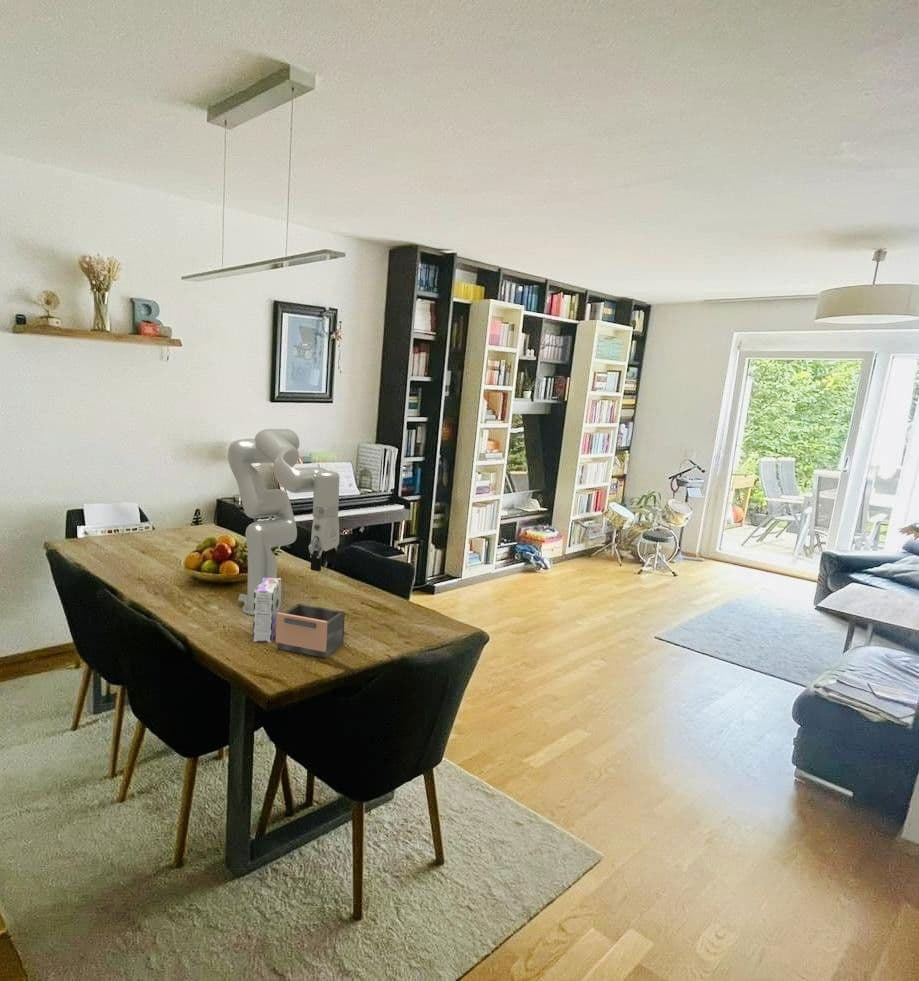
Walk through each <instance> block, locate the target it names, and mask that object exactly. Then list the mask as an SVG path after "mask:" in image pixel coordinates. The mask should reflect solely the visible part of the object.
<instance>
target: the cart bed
mask: <svg viewBox="0 0 919 981" xmlns="http://www.w3.org/2000/svg"><path fill="white" fill-rule="evenodd" d="M282 613H286V614H292V615H297V616H302V617H308V618H313V619H319V620H324V621H328V623H327V646H326V651H325V652H322V651H317V650H312V649H307V648H302V647H297V646H292V645H287V644H282V643H277V649H279V650H285V651H290V652H294V653H300V654H305V655H310V656H314V657H318V658H319V657H320V658H324V659H327V658H329V656H331V655H332V654H333V653H334V652H335V651H336V650H338V649H339V648H340V647H341V646H343V645H344V635H345V614H346V611H343V610H342V611H341V610H337V609H331V608H325V607H320V606H314V605H308V604H302V603H296V604H295V605H294V606H293V605H292V606H291V607H290V608H289V609H287V610H285V611H284V612H282Z"/></svg>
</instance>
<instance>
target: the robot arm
mask: <svg viewBox="0 0 919 981" xmlns="http://www.w3.org/2000/svg"><path fill="white" fill-rule="evenodd" d="M299 448H300V438H299V436H298V434H297V433H296V432H295V431H294V430H292V429H289V428H265V429H262V430H260V431H258V432H257V433H256V434H255V437H254V438H242V439H236V440H234V441H233V442H232V443H231V444H229V447H228V451H227V460H228V465H229V468H230V470H231V472H232V473H233V476H234V479H235V480H236V482H237V483H236V484H237V486H238V492H239V496H240V500H241V504H242V507H243V511H244V514H245V515H246V516H247V517H248V518H251V519H260V518H269V517H273V518H272V519H265V520H257V521H254V522H251V523H250V524H249V525H248V526H247V527H246V529H245V542H246V547H247V592H246V593H247V594H246V593H245V594H244V593H240V594H239V596H238V599H237V601H238V602H242V603H244V604H243V606H242V607H241V608H242V610H241V611H242V612H243V613H244V614H246V615H251V616H254V591H255V590H256V588H257V587H258V585H259V584H260V583H261V581H262V580H263V578H278V577H277V576H278V572H277V570H278V561H277V560H278V559H277V556H276V555H275V554H274V552H273V550H272V548H276V547H277V548H278V547H283V546H288V545H291V544H293V543H295V541H296V540H297V537H298V530H297V529H298V528H297V523H296V520H295V517H294V516H295V515H294V512H293V507H292V503H291V501H290V497H289V496H288V494H287V493H286V492H285V490H286V491H288V492H290V493H292V494H293V493H294V494H301V493H309V492H310V493H312V492H313V498H312V501H313V502H312V518H313V520H312V526H311V533H310V534H311V537H310V543H309V545H308V551H309V552H308V553H309V555H310V556H309V557H310V570H311V571H314V572H321V571H322V557H321V556H322V553H323V552H326V558H325V559H326V560H325V561H326V563H330V564H336V563H337V555H338V554H337V552H338V546H339V544H340V520H339V503H340V502H339V499H340V498H339V497H340V475H339V473H338V472H337V471H335V470H328V469H325V468H324V467H321V466H319V467H318V466H316V467H315V466H314V467H313V466H312V467H310V466H309V467H295V465H296V464H297V462H298V460H299V457H300V454H299V453H300V452H299V450H298V449H299ZM268 463H270V464H273V469H272V470H273V474H274V479H275V480H276V482H277V483H278V484H279V485H280V486H281V487H282V488H284V489H285V490H282V489H279V488H274V489H273V488H272V489H271V488H270V489H267V488H266V486H265V483H264V478H263V476H262V474H261V473H260V471H258V469H256V468H255V467H254V466H253V465H252V464H268Z"/></svg>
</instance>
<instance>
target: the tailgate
mask: <svg viewBox="0 0 919 981" xmlns="http://www.w3.org/2000/svg"><path fill="white" fill-rule="evenodd" d="M327 623H328V621H324V620H319V619H313V618H308V617H302V616H297V615H292V614H286V613H283V612H282V611H281V612H278V613H276V634H275V643H277V644H278V643H282V644H287V645H292V646H297V647H302V648H307V649H312V650H317V651H322V652H325V651H326V646H327Z"/></svg>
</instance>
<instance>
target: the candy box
mask: <svg viewBox="0 0 919 981" xmlns="http://www.w3.org/2000/svg"><path fill="white" fill-rule="evenodd" d="M281 600H282V578H281V577H277V578H263V580H262V581H261V583H260V584H259V585H258V587H257V588H256V590H255V591H254V615H253V619H252V620H253V621H252V622H253V624H252V626H253V627H252V628H253V629H252V642H255V643H256V642H257V643H270V644H271V643H272V642H273V640H274V637H276V613H278V612H281V613H282V611H281V608H282V605H281V604H282V601H281Z"/></svg>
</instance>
